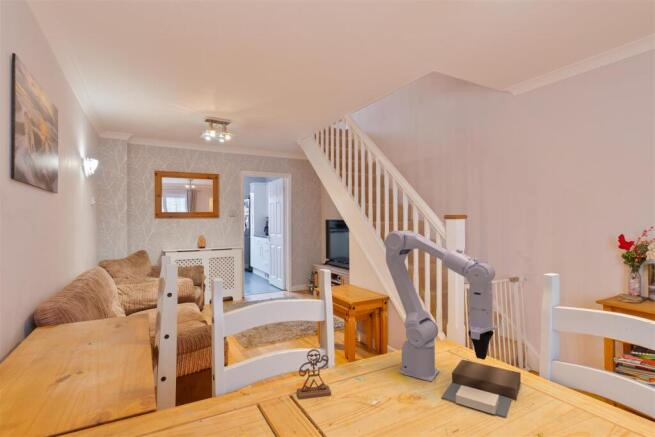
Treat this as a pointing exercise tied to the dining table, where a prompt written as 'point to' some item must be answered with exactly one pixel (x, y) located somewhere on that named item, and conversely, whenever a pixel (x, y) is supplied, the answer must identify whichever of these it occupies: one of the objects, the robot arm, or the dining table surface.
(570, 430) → the dining table surface
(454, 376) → the block
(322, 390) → the gingerbread man figurine
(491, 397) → the tile
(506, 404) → the mat
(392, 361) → the dining table surface
